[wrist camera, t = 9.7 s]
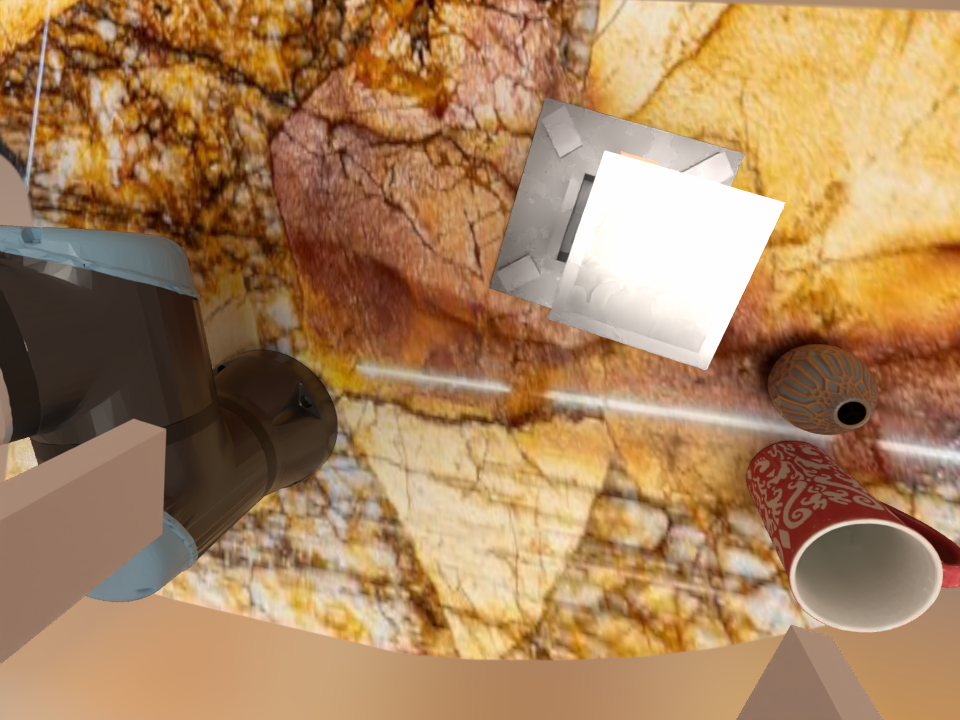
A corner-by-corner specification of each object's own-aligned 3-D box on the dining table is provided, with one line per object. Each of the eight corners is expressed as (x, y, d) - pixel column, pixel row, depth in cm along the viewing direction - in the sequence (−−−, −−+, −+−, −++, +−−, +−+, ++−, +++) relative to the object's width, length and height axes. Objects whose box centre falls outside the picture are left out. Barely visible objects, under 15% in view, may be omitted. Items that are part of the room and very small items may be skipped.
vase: (865, 360, 42) (934, 398, 34) (810, 425, 44) (862, 475, 36) (791, 321, 42) (842, 349, 34) (740, 387, 44) (776, 428, 36)
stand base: (491, 286, 46) (469, 305, 37) (546, 99, 41) (536, 69, 32) (660, 341, 45) (680, 375, 36) (740, 155, 39) (787, 139, 30)
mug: (723, 508, 48) (773, 617, 35) (748, 423, 45) (813, 507, 33) (867, 535, 46) (975, 660, 33) (902, 448, 43) (1035, 548, 31)
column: (567, 253, 36) (547, 318, 15) (591, 181, 34) (607, 142, 13) (632, 274, 35) (706, 370, 14) (660, 202, 33) (789, 195, 13)
